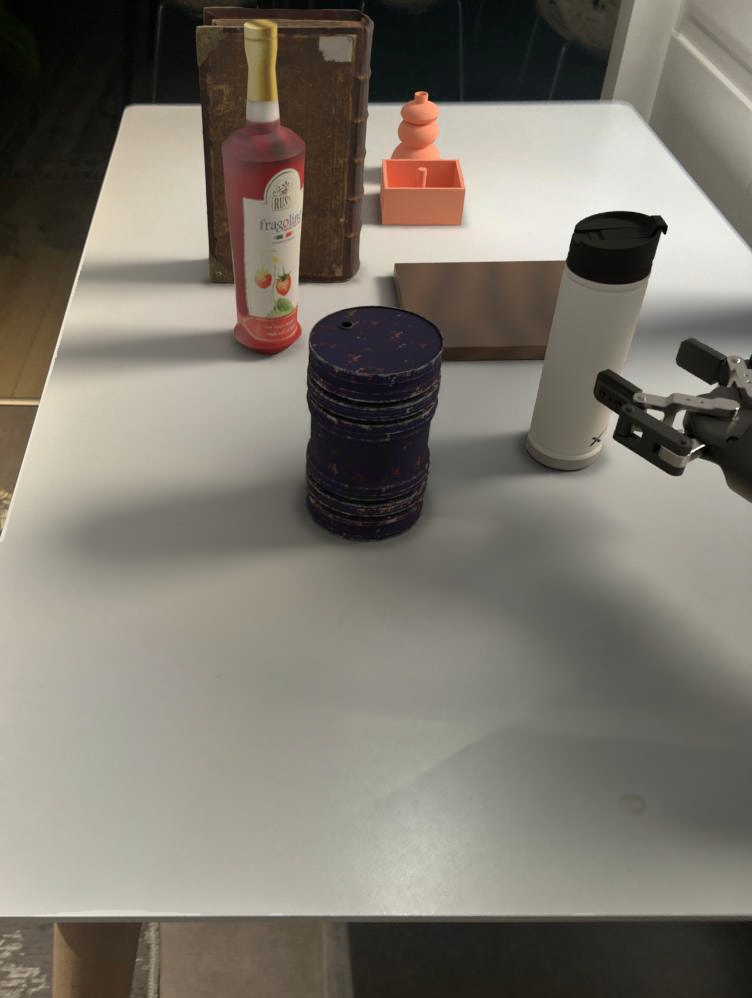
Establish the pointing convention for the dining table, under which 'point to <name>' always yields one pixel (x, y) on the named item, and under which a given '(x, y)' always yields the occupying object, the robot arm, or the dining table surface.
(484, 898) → the dining table surface
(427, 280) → the walnut board
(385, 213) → the pottery
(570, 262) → the travel mug
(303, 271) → the book
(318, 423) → the dark blue cylinder
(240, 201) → the liquor
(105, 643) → the dining table surface
